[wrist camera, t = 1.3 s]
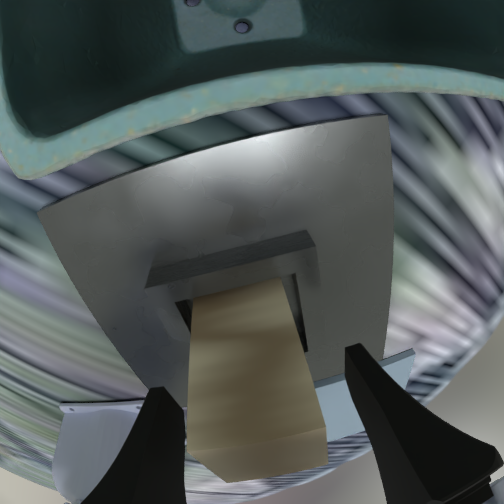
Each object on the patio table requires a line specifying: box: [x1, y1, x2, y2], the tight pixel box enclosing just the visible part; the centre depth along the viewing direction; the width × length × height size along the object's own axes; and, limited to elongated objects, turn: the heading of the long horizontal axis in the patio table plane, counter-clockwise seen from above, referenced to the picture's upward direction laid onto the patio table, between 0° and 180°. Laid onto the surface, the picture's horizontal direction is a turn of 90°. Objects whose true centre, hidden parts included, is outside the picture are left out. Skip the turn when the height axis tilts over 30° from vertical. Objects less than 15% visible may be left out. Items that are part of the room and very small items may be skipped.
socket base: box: [37, 113, 394, 408], centre depth 15 cm, size 16×16×2 cm
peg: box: [187, 277, 328, 483], centre depth 11 cm, size 4×4×8 cm
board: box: [313, 349, 416, 442], centre depth 23 cm, size 12×12×1 cm
